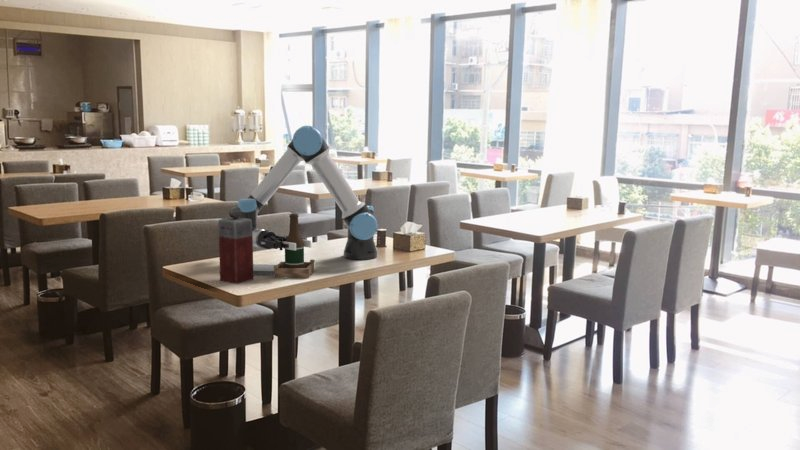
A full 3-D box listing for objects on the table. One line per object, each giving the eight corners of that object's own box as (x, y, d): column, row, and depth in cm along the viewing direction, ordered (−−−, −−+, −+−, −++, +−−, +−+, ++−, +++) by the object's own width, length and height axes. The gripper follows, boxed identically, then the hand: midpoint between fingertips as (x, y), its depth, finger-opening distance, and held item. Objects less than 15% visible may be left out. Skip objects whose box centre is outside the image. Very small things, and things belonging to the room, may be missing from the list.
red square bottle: (233, 275, 267) (231, 204, 263) (253, 279, 261) (252, 206, 256) (215, 279, 260) (213, 206, 255) (236, 283, 253) (234, 208, 249)
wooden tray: (314, 270, 277) (314, 259, 276) (309, 278, 263) (309, 266, 263) (280, 269, 277) (280, 259, 277) (273, 277, 264) (273, 266, 263)
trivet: (282, 268, 281) (282, 264, 280) (276, 274, 269) (276, 271, 268) (253, 267, 281) (253, 264, 281) (245, 274, 269) (245, 270, 269)
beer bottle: (308, 272, 273) (307, 213, 269) (298, 276, 266) (298, 215, 262) (290, 271, 275) (289, 212, 272) (281, 275, 268) (280, 214, 264)
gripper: (282, 244, 288) (321, 251, 274) (244, 251, 272) (283, 258, 258) (281, 227, 287) (321, 232, 273) (243, 232, 271) (283, 239, 257)
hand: (303, 245), depth 266 cm, fingers closed on beer bottle, 7 cm apart
